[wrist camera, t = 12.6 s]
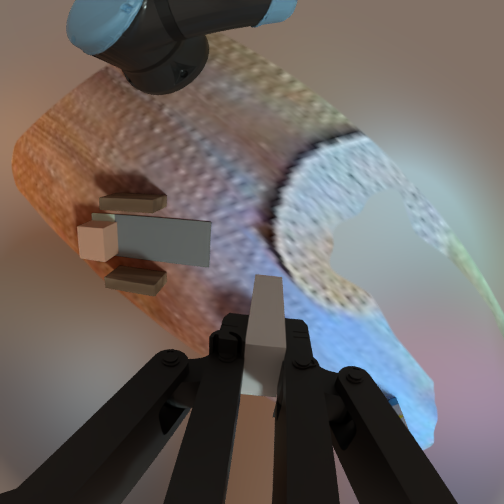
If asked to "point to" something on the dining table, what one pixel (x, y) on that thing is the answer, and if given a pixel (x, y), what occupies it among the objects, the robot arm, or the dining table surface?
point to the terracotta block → (98, 240)
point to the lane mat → (161, 238)
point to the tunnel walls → (129, 276)
